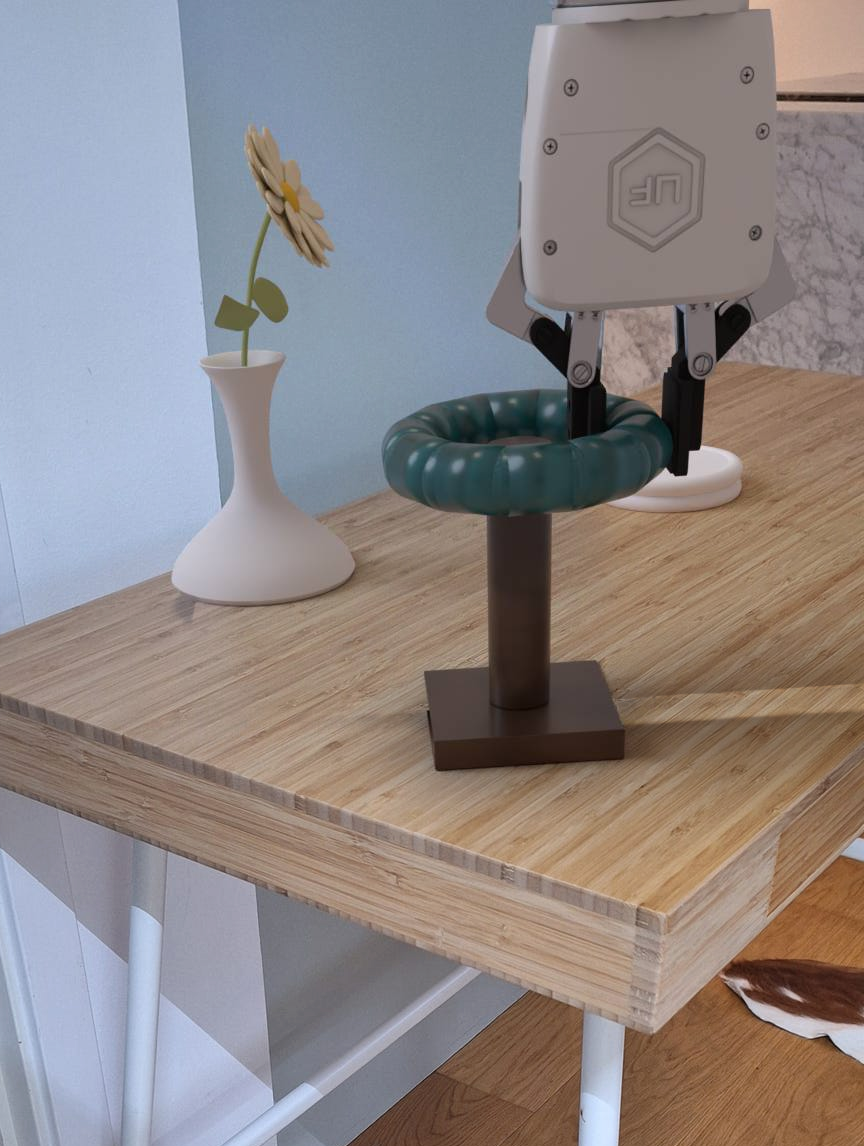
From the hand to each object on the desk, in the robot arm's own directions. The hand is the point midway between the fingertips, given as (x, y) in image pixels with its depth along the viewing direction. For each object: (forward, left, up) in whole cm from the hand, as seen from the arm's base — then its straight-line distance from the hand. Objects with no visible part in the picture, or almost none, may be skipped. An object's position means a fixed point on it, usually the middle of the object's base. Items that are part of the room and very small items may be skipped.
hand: (632, 467), depth 66 cm
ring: (+5, 0, +1) cm, 5 cm away
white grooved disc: (-9, -35, -12) cm, 38 cm away
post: (+5, 0, -12) cm, 13 cm away
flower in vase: (+18, -23, -12) cm, 32 cm away
